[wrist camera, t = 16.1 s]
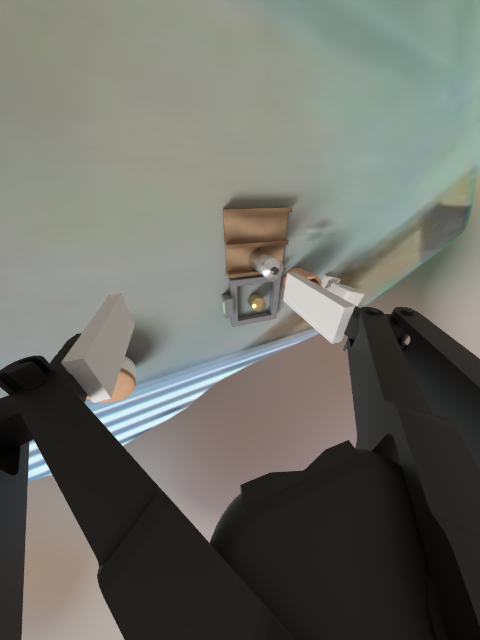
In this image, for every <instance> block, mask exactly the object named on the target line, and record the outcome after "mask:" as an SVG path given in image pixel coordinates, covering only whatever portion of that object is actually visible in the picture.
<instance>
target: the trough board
mask: <svg viewBox="0 0 480 640" xmlns="http://www.w3.org/2000/svg"><path fill="white" fill-rule="evenodd" d="M288 212H292V208H288V207H285V208H244V209H223V220H224V238H225V256H226V273H227V276H228V278H235V277H243V276H252V275H260V273H259V272H258V271H257V270H255V269H254V268H253V267H252V266H251V265H250V264H249V261H248V258H249V255H250V254H251V252H252V251H254V250H260V251H262V252H264V253H266V254H268V255H270V256H272V257H274V258H276V259H277V260H279V261H281V262H283V253H284V245H287V244H288V240H285V236H286V227H287V219H288ZM283 272H285V268H284V267H283Z"/></svg>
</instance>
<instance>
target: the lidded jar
mask: <svg viewBox="0 0 480 640" xmlns="http://www.w3.org/2000/svg"><path fill="white" fill-rule="evenodd" d="M136 375H137V372H136V367H135V364H134V363H133V361H132V360H131V359H130V358H128V357H127V356H125V358H124V361H123V364H122V367H121V370H120V373H119V376H118V379H117V382H116V385H115V388H114V391H113V394H112V397H111V399H107V400H103V401H99V402H115V401H119V400H122V399H124V398H126V397H127V396H129V395H130V394H131V393H132V392H133V391H134V389H135V385H136ZM86 399H88V400H90V398H89V397H88V396H87V398H86Z"/></svg>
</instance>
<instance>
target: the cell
mask: <svg viewBox="0 0 480 640" xmlns="http://www.w3.org/2000/svg"><path fill="white" fill-rule="evenodd" d="M248 261H249V264H250V265H251V266H252V267H253V268H254V269H255V270H257V271H258V272H259V273H260V274H262V275H263V276H264V277H265V278H267V279H268V280H276V279H278V278H279V277H280V276H281V274H282V272H283V264H282V262H281V261H279V260H277V259H276V258H274V257H272V256H270V255H268V254H266V253H264V252H262V251H260V250H254V251H252V252H251V254H250V255H249V258H248Z"/></svg>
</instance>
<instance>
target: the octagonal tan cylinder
mask: <svg viewBox="0 0 480 640" xmlns="http://www.w3.org/2000/svg"><path fill="white" fill-rule="evenodd" d="M291 272H296V273H297V274H299V275H301V276H303V277H305V278H306V279H310V280H312V281H314V282H315V283H317V284H319V285H321V284H322V282H321V280H320V279H319V278H318V276H316V275H314V274H312V273H310V272H308V271H306V270H304V269H302V268H293V269H291V270H289V271H288V272H287V273H291ZM287 273H286V275H285V276H284V279H283V286H284V288H285V285H286V278H287Z"/></svg>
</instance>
